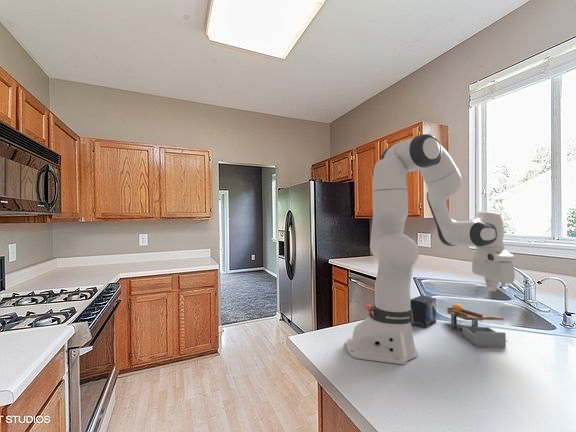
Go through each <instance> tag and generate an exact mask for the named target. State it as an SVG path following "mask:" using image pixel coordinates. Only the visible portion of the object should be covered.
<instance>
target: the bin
mask: <svg viewBox="0 0 576 432" xmlns="http://www.w3.org/2000/svg"><path fill="white" fill-rule="evenodd" d="M461 331H462V337H463V338H465V339H466V340H467V341H469V343H471V344H472V345H473V346H475V347H476V348H495V349H497V348H498V349H506V348H507V338H506V337H507V336H506V332H504V331H496V330H494V329H493V328H491V327H489V326H478V327H466V326H462V330H461Z"/></svg>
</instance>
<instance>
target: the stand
mask: <svg viewBox="0 0 576 432" xmlns="http://www.w3.org/2000/svg"><path fill="white" fill-rule="evenodd" d="M457 318H458V317H457V314H455V313H454V312H451V314H450V324H448V327H449V328H450V329H452V330H453V331H462V326H466V327H479V325H478V324H479V323H478V321H479V320H471V324H457V321H458V320H457Z"/></svg>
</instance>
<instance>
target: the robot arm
mask: <svg viewBox="0 0 576 432" xmlns="http://www.w3.org/2000/svg"><path fill="white" fill-rule="evenodd" d="M415 171H418V172H419V173H420V175H421V177H422V179H423V181H424V183H425V185H426V188H427V192H426V200H427V204H428V207H429V209H430V212H431V214H432V218H433V220H434V223H435V225H436V228H437V229H436V230H437V235H438V238H439V240H440V241H441V243H442V244H443V245H445V246H447V247H472V248H474V247H475V254H474V256H473V257H472V259H471V260H472V263H471V264H472V265H471V271H472V273H473V275H476V276H480V277H482V278H483V279H484V282H485V285H486V289H487V290H488V291H491V292H497V290H498V289H497V287H498V286H499V285H498V284H499V283H501V284H508V285H509V284H513V283H514V282H515V276H516V275H515V274H516V273H515V265H514V263H513V262H515V256H514V255H513V254H512V253H510V252H509V251H508V250H506V249H505V248H506V247H505V243H504V236H505V232H504V231H505V229H504V223H503V218H502V215H501V214H500V213H498V212H496V211H480V212H476V216H475V217H473V218H472V219H470V220H462V221H461V220H459V221H457V220H455V219H453V218H452V217H451V214H450V212H449V208H448V206H447V200H448V199H450V198H451V197H453V196H454V195H455V194H456V193H457V192H458V191H459V190H460V189H461V187H462V183H463V180H462V175H461V173H460V171H459V168H458V167H457V165H456V164H455V162H454V160H453V159H452V157H451V156H450V154H449V153H448V151H447V150H446V149H445V148H444V147H443V146H442V144H441V143H440V140H438V138H437V137H435V136H434V135H432V134H429V133H428V134H427V133H425V134H418V135H416V136H414V137H411V138H408V139H404V140H401V141H398V142H397V143H395V144H394V145H390V146H388V147H387V148H386V149H385V150H384V151H382V154H381V156H380V159H379V160H378V161H377V162H376V163H375V165H374V169H373V176H372V186H371V187H372V193H371V194H372V222H371V223H372V224H371V235H370V243H369V248H370V252H371V254H372V256H373V258H375V259H376V260H377V261H378V268H377V273H376V274H377V275H376V279H375V281H374V299H375V300H374V302H375V303H374V305H371V304H370V303H369V304H368V303H367V305H366V306H365V309H366V311H367V312H368V317H366V318H365V319H364V320H362V321H361V322H359V323H358V324H356V325H355V326H354V329H353V331H352V337H349V338H347V339H346V340H345V349H346V351H347V353H348V354H349V355H350V357H352V358H354V359H359V360H365V361H375V362H381V363H388V364H389V363H391V364H395V365H396V364H397V365H406V364H407V363H408V361H410V360H412V359H413V360H414V359H415V358H416V357H417V356H418V351H417V348H416V345H415V341H414V334H413V326H414V325H413V313H412V309H411V299H412V297H411V294H412V293H411V288H412V287H411V285H412V277H413V272H414V268H415V264H416V263H417V261H418V259H419V255H420V250H419V247H418V244H417V243H416V242H415V240H413V239H412V238H411V237H410V236H408V235H407V234H404V233H405V232H404V231H405V226H406V221H407V218H408V215H409V197H408V196H409V195H408V194H409V193H408V181H407V176H408V173H411V172H415Z"/></svg>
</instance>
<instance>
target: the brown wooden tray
mask: <svg viewBox="0 0 576 432" xmlns="http://www.w3.org/2000/svg"><path fill="white" fill-rule="evenodd" d="M446 309H447V310H446V312H447V314H448V315H451V312H454V313H455V314H457V318H460V319H462V320H466V321H472V320H478V321H485V320H488V321H489V320H490V321H504V317H501V316H499V315H498V316H497V315H484V314H482V313H479V312H475V311H471V310H468V309H465V308H463V307H462V311H461V312H458V311H455V310H453V308H452V307H446Z"/></svg>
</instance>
